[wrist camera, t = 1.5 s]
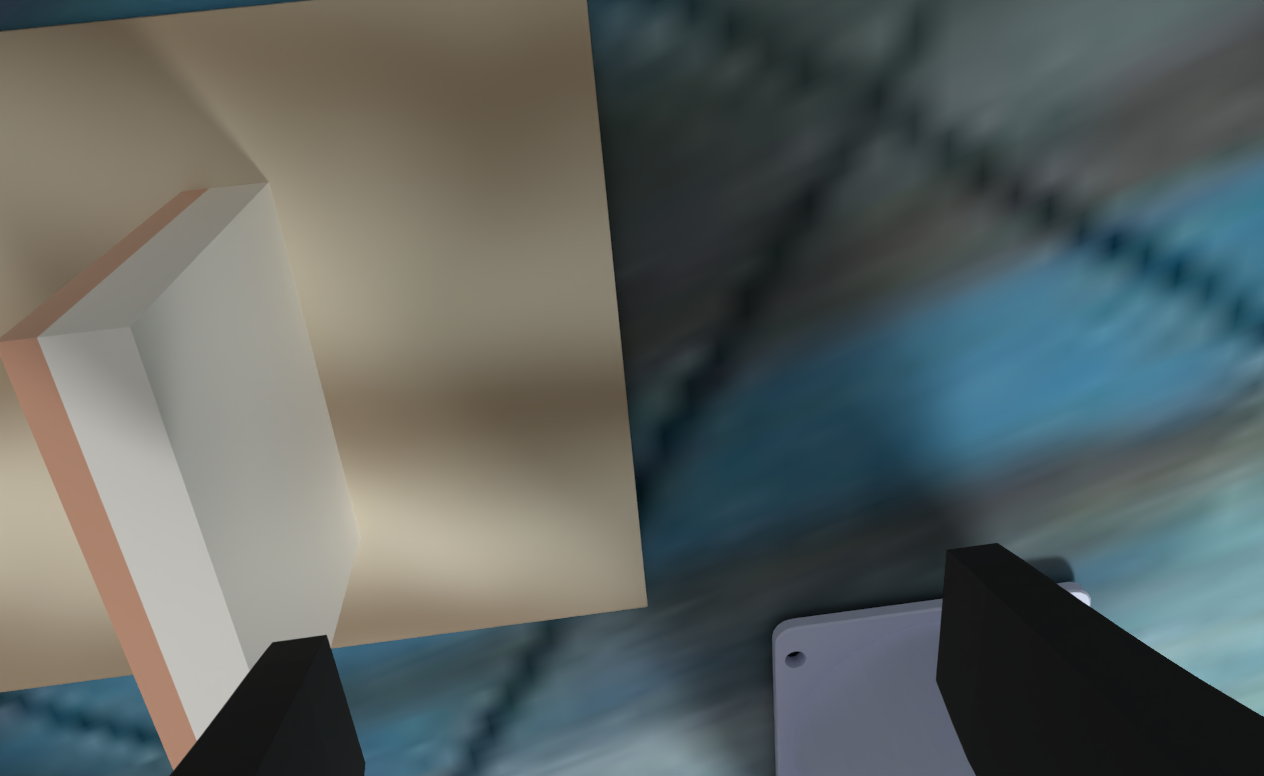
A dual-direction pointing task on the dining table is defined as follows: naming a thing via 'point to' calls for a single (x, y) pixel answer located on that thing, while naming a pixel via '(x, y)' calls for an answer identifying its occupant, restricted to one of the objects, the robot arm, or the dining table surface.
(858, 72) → the dining table surface
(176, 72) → the mat
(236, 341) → the tile
